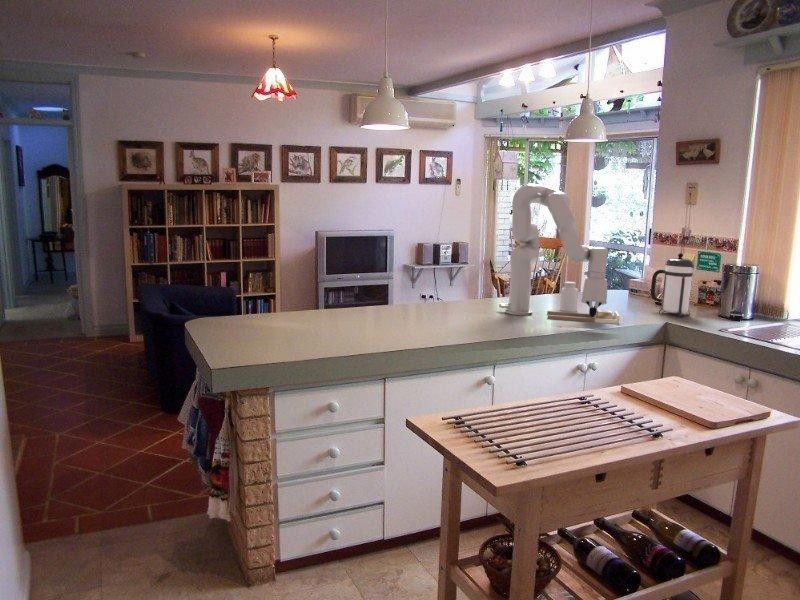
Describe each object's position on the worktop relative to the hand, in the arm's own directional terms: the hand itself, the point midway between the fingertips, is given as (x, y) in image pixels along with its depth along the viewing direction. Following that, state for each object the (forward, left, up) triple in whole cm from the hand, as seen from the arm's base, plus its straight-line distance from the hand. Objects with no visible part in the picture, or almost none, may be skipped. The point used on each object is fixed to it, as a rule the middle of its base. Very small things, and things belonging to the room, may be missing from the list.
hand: (592, 316), depth 281 cm
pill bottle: (-9, +20, -3) cm, 22 cm away
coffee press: (+41, +39, -3) cm, 56 cm away
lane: (-4, 0, -3) cm, 5 cm away
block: (+5, 0, -1) cm, 5 cm away
